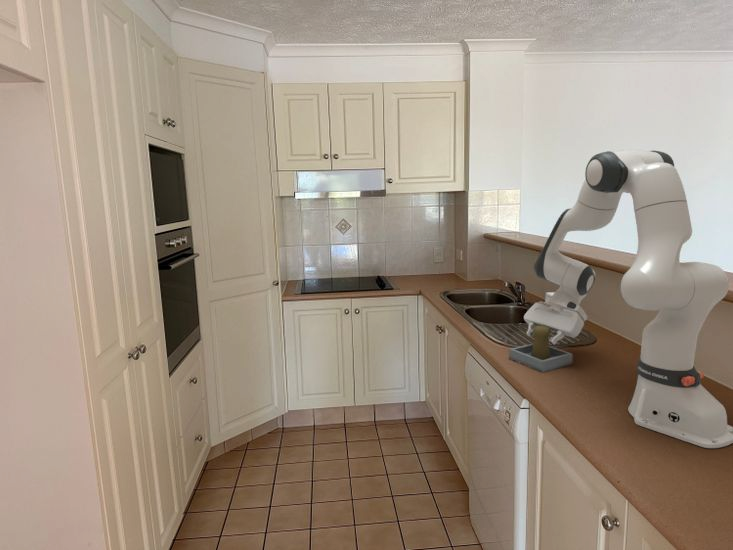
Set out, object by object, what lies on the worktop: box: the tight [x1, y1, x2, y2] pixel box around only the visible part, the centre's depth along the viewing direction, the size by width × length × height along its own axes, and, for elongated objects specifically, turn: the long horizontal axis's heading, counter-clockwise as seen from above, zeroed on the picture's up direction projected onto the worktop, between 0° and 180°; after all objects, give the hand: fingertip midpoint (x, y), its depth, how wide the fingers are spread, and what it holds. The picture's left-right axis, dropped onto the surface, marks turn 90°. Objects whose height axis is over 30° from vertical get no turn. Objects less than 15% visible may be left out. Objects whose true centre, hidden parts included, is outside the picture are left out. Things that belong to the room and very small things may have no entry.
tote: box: [508, 343, 574, 373], centre depth 156 cm, size 14×14×4 cm
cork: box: [531, 326, 551, 360], centre depth 155 cm, size 6×6×11 cm
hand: (539, 339), depth 154 cm, fingers open, 8 cm apart
